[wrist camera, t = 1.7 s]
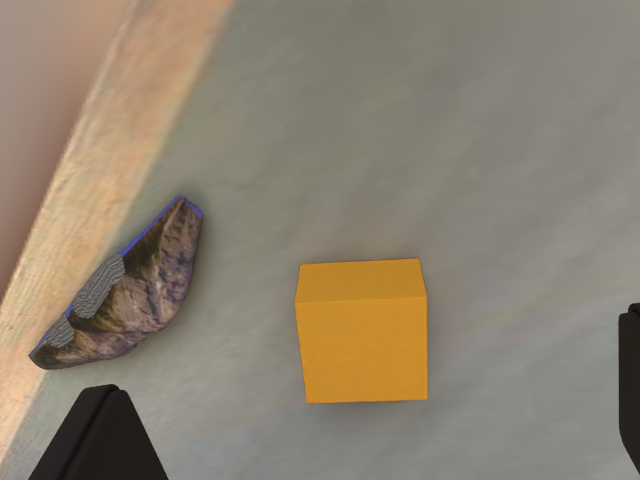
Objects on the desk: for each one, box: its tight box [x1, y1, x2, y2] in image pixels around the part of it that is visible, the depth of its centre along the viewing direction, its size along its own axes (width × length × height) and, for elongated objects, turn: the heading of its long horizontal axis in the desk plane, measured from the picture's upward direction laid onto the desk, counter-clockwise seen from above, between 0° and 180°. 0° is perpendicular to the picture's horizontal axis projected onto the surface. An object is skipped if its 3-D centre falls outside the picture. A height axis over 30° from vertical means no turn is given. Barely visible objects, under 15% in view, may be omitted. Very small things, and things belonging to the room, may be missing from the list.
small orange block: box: [294, 258, 428, 403], centre depth 32 cm, size 7×7×4 cm
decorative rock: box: [28, 196, 204, 370], centre depth 33 cm, size 16×2×5 cm
